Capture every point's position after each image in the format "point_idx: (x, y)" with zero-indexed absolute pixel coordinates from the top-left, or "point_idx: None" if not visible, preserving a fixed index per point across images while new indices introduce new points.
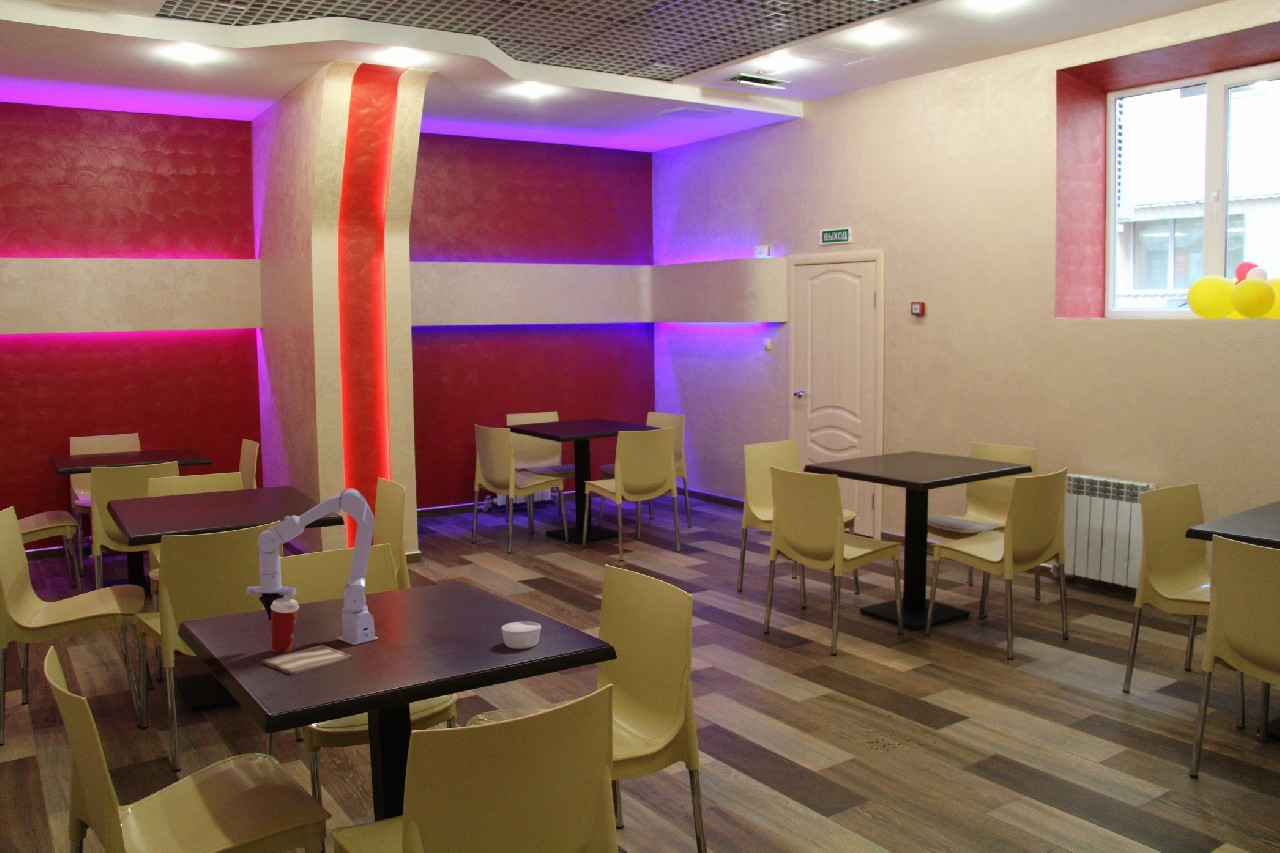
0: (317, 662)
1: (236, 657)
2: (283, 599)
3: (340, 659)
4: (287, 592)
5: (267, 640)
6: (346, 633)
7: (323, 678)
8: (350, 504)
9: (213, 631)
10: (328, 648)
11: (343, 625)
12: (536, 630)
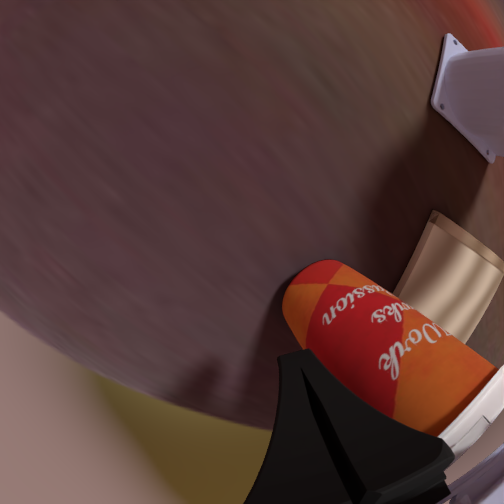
0: (463, 333)
1: (216, 388)
2: (456, 458)
3: (494, 291)
4: (501, 465)
5: (140, 203)
6: (486, 134)
7: None
8: None
9: None
10: (466, 241)
11: (499, 127)
12: None
